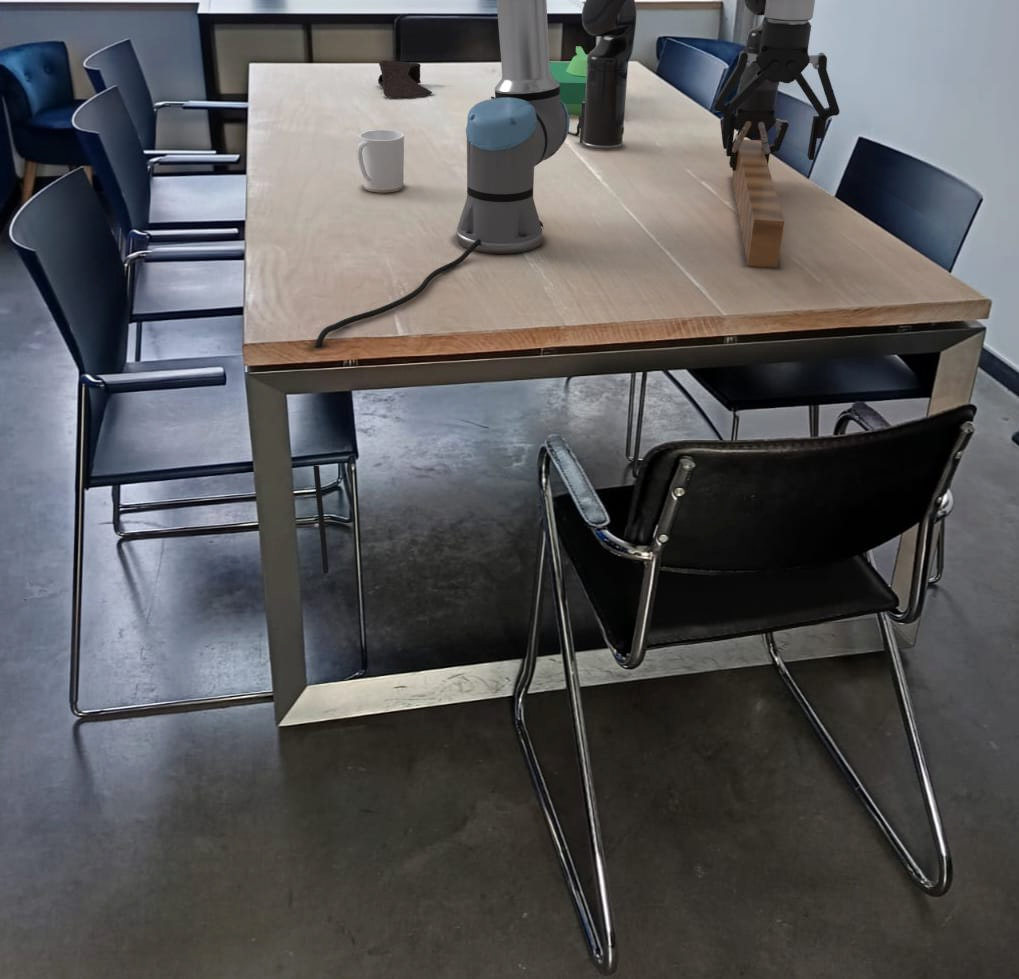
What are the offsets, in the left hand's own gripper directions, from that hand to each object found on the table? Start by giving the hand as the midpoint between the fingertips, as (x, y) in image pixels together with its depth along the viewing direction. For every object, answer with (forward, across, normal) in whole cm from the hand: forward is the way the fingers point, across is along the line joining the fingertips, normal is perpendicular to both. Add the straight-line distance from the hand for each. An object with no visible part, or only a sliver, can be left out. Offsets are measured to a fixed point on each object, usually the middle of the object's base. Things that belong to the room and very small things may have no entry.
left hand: (769, 156), depth 184 cm
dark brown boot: (+16, +87, -117) cm, 147 cm away
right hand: (+13, -1, -41) cm, 43 cm away
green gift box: (+16, +38, -112) cm, 120 cm away
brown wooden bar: (+17, -1, -20) cm, 26 cm away
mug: (+16, +73, -26) cm, 79 cm away
